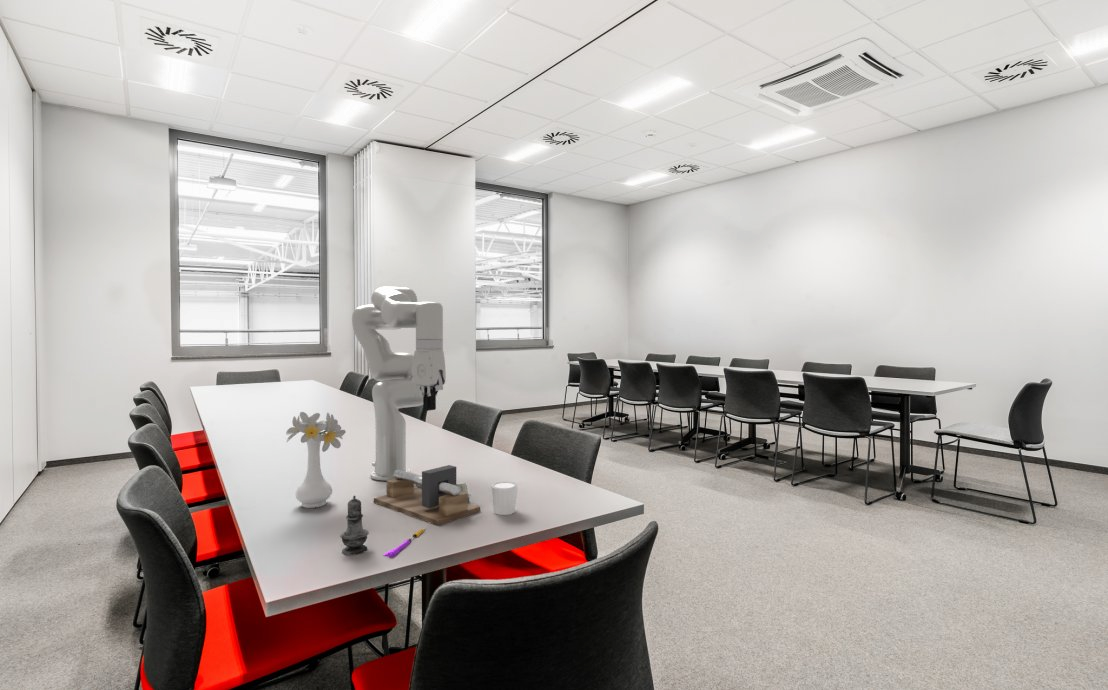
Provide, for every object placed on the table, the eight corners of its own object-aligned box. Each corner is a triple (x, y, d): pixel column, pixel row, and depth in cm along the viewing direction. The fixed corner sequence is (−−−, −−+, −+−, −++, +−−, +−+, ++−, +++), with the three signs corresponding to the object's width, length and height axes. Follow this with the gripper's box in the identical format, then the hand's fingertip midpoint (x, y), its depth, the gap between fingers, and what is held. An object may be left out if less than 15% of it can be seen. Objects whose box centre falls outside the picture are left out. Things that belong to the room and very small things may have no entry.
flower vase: (321, 517, 139) (320, 419, 138) (273, 506, 147) (272, 414, 146) (360, 502, 150) (359, 412, 150) (313, 493, 159) (313, 408, 158)
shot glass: (510, 517, 139) (510, 490, 139) (486, 513, 142) (486, 487, 142) (521, 509, 146) (521, 483, 146) (498, 506, 148) (498, 480, 148)
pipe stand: (373, 502, 151) (373, 482, 151) (415, 491, 162) (415, 472, 162) (437, 525, 133) (437, 503, 133) (480, 511, 144) (480, 490, 144)
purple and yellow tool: (393, 558, 114) (426, 531, 130) (391, 552, 114) (424, 526, 130) (381, 560, 115) (416, 533, 130) (380, 554, 115) (414, 528, 130)
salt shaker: (352, 557, 114) (351, 501, 114) (334, 551, 117) (333, 496, 117) (374, 548, 119) (374, 494, 119) (357, 542, 122) (356, 489, 122)
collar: (421, 506, 141) (421, 471, 141) (449, 497, 148) (449, 465, 148) (429, 508, 139) (429, 473, 139) (456, 500, 146) (456, 466, 146)
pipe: (393, 479, 155) (393, 470, 154) (401, 477, 157) (401, 468, 157) (453, 497, 138) (453, 487, 138) (461, 495, 140) (461, 484, 140)
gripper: (402, 345, 157) (402, 408, 157) (435, 346, 147) (435, 414, 148) (423, 344, 162) (424, 406, 163) (456, 345, 153) (457, 411, 153)
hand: (429, 409), depth 155 cm, fingers closed
